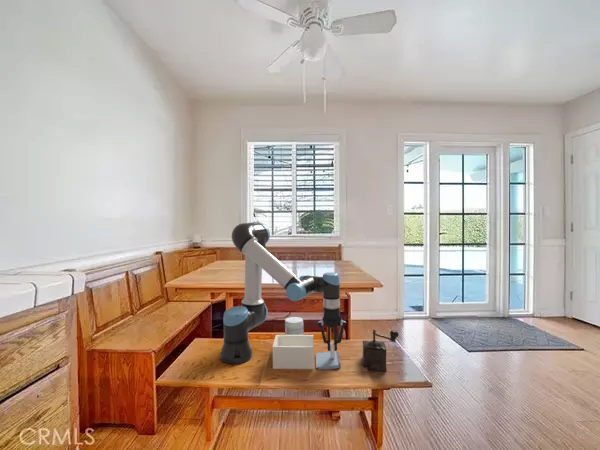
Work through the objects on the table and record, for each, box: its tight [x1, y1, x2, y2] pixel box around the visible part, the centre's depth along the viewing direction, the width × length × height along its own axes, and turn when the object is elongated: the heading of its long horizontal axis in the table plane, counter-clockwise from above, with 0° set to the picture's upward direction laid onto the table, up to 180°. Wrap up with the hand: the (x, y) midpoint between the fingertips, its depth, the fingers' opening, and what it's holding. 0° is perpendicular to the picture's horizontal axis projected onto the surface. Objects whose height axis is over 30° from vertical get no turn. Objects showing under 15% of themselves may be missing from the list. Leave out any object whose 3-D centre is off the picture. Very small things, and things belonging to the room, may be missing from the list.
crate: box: [272, 334, 315, 370], centre depth 154 cm, size 18×14×11 cm
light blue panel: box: [315, 350, 342, 370], centre depth 153 cm, size 2×14×11 cm
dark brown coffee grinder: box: [361, 329, 399, 372], centre depth 151 cm, size 16×11×18 cm
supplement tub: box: [284, 316, 305, 335], centre depth 171 cm, size 10×10×15 cm
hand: (332, 357), depth 153 cm, fingers closed
